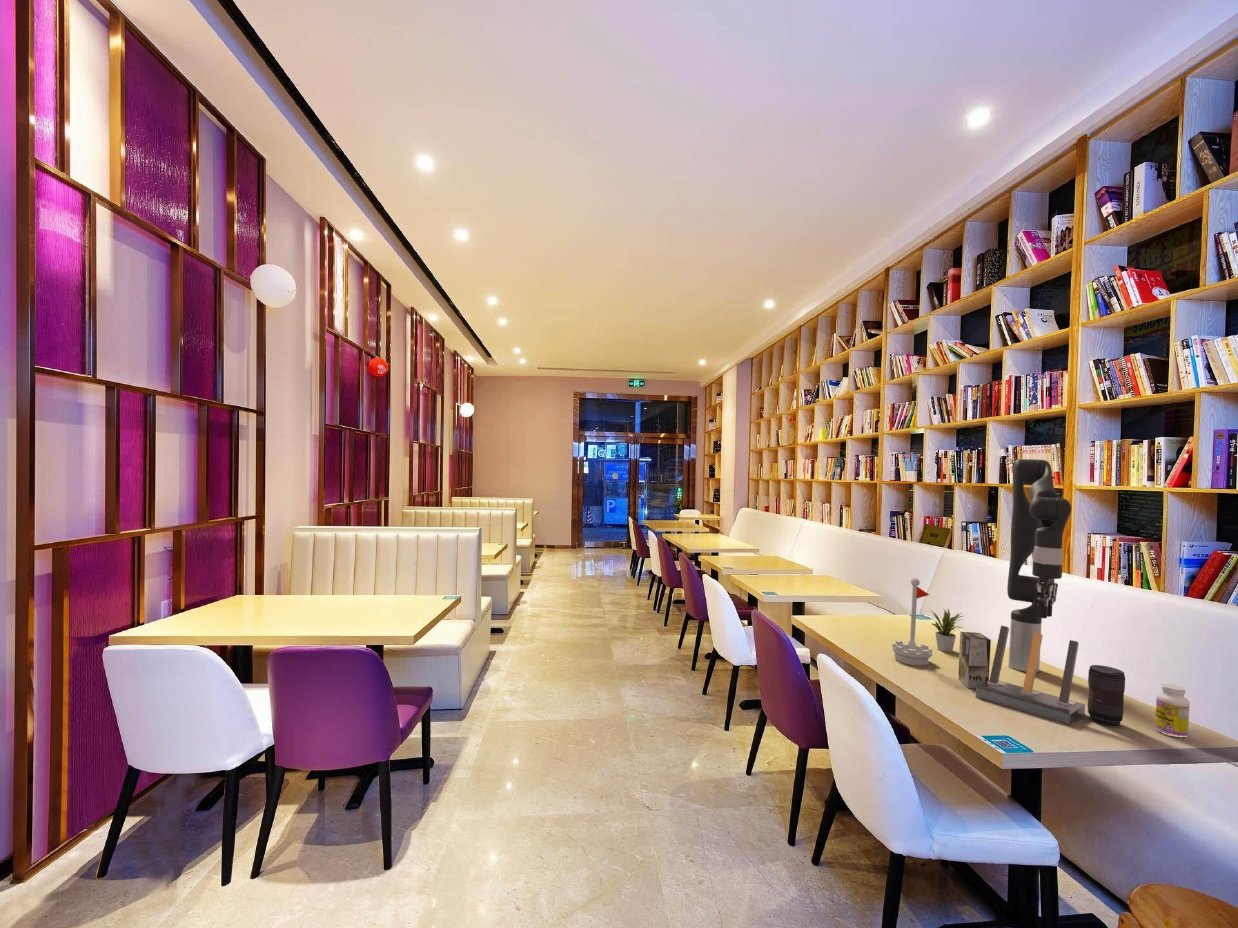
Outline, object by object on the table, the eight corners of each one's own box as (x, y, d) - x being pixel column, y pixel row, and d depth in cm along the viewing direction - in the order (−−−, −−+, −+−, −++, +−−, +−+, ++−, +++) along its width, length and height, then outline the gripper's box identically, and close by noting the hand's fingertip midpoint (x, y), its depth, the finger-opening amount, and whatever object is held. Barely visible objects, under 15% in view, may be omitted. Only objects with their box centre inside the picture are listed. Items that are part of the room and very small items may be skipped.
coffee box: (989, 690, 192) (991, 639, 192) (967, 688, 193) (969, 637, 194) (978, 681, 201) (980, 632, 201) (957, 678, 202) (959, 630, 202)
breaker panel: (993, 688, 194) (993, 676, 194) (1084, 714, 176) (1085, 701, 176) (975, 696, 186) (976, 684, 186) (1069, 725, 167) (1070, 711, 167)
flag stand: (885, 658, 221) (889, 576, 221) (900, 652, 230) (904, 573, 230) (922, 668, 212) (927, 582, 212) (937, 661, 220) (941, 579, 220)
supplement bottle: (1148, 728, 168) (1150, 681, 168) (1170, 728, 168) (1172, 682, 169) (1172, 739, 161) (1174, 690, 161) (1194, 739, 162) (1197, 691, 162)
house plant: (976, 657, 228) (978, 614, 228) (939, 655, 228) (941, 612, 229) (956, 646, 243) (958, 605, 243) (921, 644, 243) (923, 603, 243)
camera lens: (1079, 718, 173) (1082, 665, 173) (1097, 714, 176) (1099, 663, 176) (1112, 729, 165) (1114, 675, 165) (1129, 726, 168) (1132, 672, 169)
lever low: (988, 685, 188) (1001, 626, 193) (998, 688, 186) (1011, 628, 191) (986, 683, 187) (999, 625, 192) (996, 686, 185) (1009, 627, 190)
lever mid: (1021, 694, 181) (1033, 633, 186) (1032, 697, 179) (1044, 635, 184) (1020, 693, 180) (1032, 631, 185) (1031, 696, 178) (1042, 634, 183)
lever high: (1057, 705, 174) (1069, 641, 179) (1069, 708, 172) (1080, 643, 177) (1056, 703, 173) (1067, 639, 178) (1067, 706, 171) (1079, 641, 176)
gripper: (1041, 558, 195) (1038, 611, 195) (1025, 561, 186) (1022, 616, 186) (1069, 562, 189) (1066, 617, 189) (1054, 565, 180) (1051, 622, 180)
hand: (1044, 616), depth 188 cm, fingers open, 4 cm apart
